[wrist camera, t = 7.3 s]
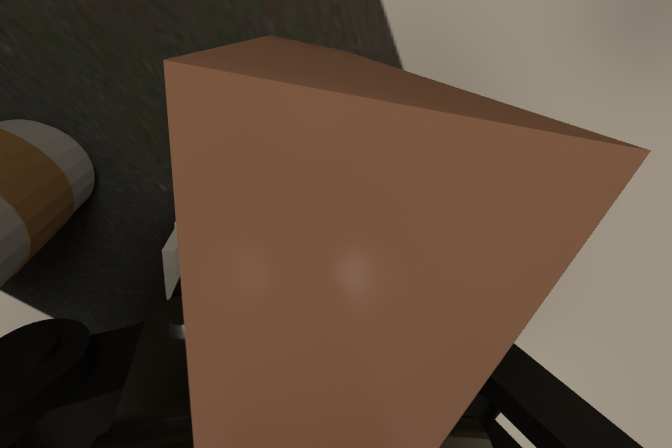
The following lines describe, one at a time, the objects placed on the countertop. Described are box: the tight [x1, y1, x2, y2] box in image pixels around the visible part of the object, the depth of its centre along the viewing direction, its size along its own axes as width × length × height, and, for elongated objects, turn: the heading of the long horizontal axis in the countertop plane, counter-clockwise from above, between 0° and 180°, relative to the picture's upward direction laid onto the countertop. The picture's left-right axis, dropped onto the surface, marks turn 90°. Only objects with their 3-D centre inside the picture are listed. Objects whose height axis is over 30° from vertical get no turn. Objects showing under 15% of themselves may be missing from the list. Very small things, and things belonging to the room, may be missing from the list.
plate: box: [163, 35, 650, 448], centre depth 8 cm, size 11×2×10 cm, turn 169°
